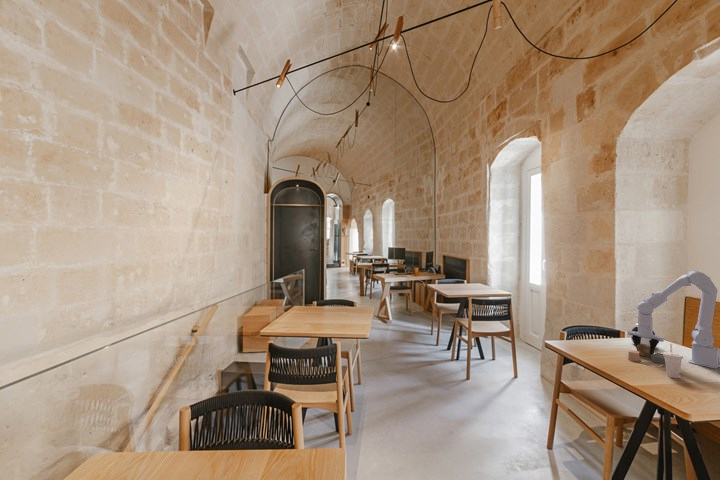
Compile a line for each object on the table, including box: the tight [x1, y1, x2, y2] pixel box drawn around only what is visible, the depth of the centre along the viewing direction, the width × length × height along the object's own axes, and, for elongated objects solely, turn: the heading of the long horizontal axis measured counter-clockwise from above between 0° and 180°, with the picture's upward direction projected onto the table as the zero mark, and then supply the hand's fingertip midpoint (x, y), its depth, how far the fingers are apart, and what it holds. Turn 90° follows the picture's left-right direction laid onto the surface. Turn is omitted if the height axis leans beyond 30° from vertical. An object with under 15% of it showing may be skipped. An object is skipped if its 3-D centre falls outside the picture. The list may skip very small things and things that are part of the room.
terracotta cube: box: [627, 349, 641, 363], centre depth 168 cm, size 4×4×4 cm
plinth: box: [650, 352, 666, 366], centre depth 164 cm, size 7×7×4 cm
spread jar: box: [630, 322, 656, 345], centre depth 189 cm, size 12×11×12 cm
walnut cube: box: [636, 343, 653, 358], centre depth 174 cm, size 5×5×5 cm
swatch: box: [639, 359, 665, 368], centre depth 162 cm, size 7×7×1 cm
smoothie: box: [662, 343, 684, 379], centre depth 148 cm, size 6×6×14 cm
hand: (645, 352), depth 174 cm, fingers closed on walnut cube, 5 cm apart
